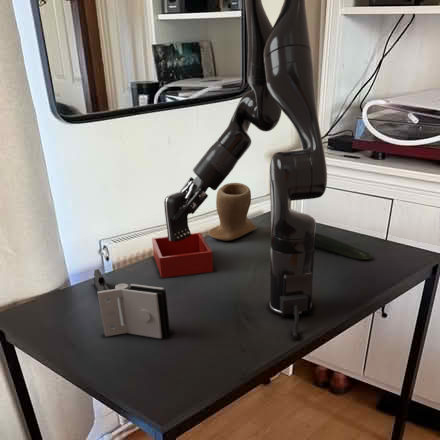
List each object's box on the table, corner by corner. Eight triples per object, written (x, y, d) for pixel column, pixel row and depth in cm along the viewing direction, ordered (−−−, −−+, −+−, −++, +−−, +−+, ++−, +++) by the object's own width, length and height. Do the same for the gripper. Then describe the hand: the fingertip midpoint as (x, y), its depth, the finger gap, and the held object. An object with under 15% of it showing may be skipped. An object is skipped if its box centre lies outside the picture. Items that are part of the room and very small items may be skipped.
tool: (275, 244, 161) (275, 221, 158) (289, 237, 165) (289, 215, 161) (359, 266, 145) (361, 241, 142) (372, 259, 149) (375, 234, 145)
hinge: (103, 336, 119) (96, 292, 114) (111, 325, 124) (104, 282, 118) (167, 339, 117) (162, 294, 112) (173, 327, 122) (168, 283, 116)
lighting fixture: (122, 313, 129) (119, 296, 126) (111, 315, 128) (108, 298, 125) (105, 283, 143) (102, 267, 141) (94, 285, 142) (92, 269, 140)
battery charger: (178, 244, 144) (174, 198, 138) (167, 241, 146) (162, 196, 140) (195, 236, 149) (192, 191, 142) (184, 233, 151) (180, 190, 144)
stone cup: (232, 247, 161) (231, 193, 152) (203, 238, 168) (200, 186, 159) (266, 233, 169) (267, 181, 161) (237, 225, 176) (236, 175, 168)
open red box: (213, 271, 146) (212, 251, 144) (161, 277, 144) (159, 258, 141) (201, 251, 159) (200, 232, 156) (153, 256, 157) (151, 238, 154)
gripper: (199, 150, 144) (158, 201, 148) (210, 161, 132) (166, 217, 137) (220, 169, 147) (179, 219, 152) (233, 182, 136) (189, 235, 140)
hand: (173, 218), depth 144 cm, fingers closed on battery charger, 6 cm apart
